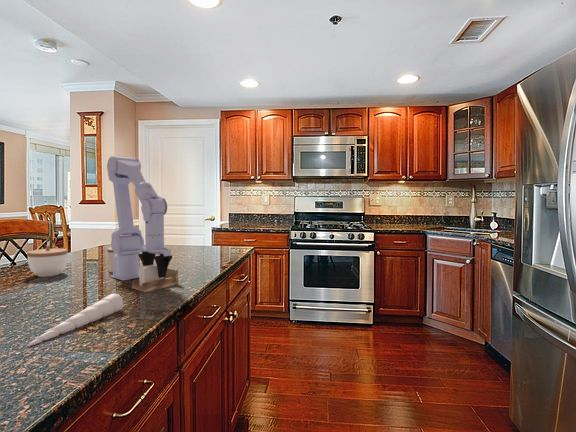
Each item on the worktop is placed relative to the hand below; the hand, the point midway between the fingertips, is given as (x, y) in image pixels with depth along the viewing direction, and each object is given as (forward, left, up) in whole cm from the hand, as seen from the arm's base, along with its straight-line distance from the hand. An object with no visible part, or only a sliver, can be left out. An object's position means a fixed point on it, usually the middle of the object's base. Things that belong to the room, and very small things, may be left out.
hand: (155, 275), depth 113 cm
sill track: (0, 0, -4) cm, 4 cm away
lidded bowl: (-47, -15, -4) cm, 49 cm away
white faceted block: (0, -1, -3) cm, 3 cm away
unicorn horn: (+17, -30, -4) cm, 35 cm away
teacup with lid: (-34, +6, -4) cm, 35 cm away
